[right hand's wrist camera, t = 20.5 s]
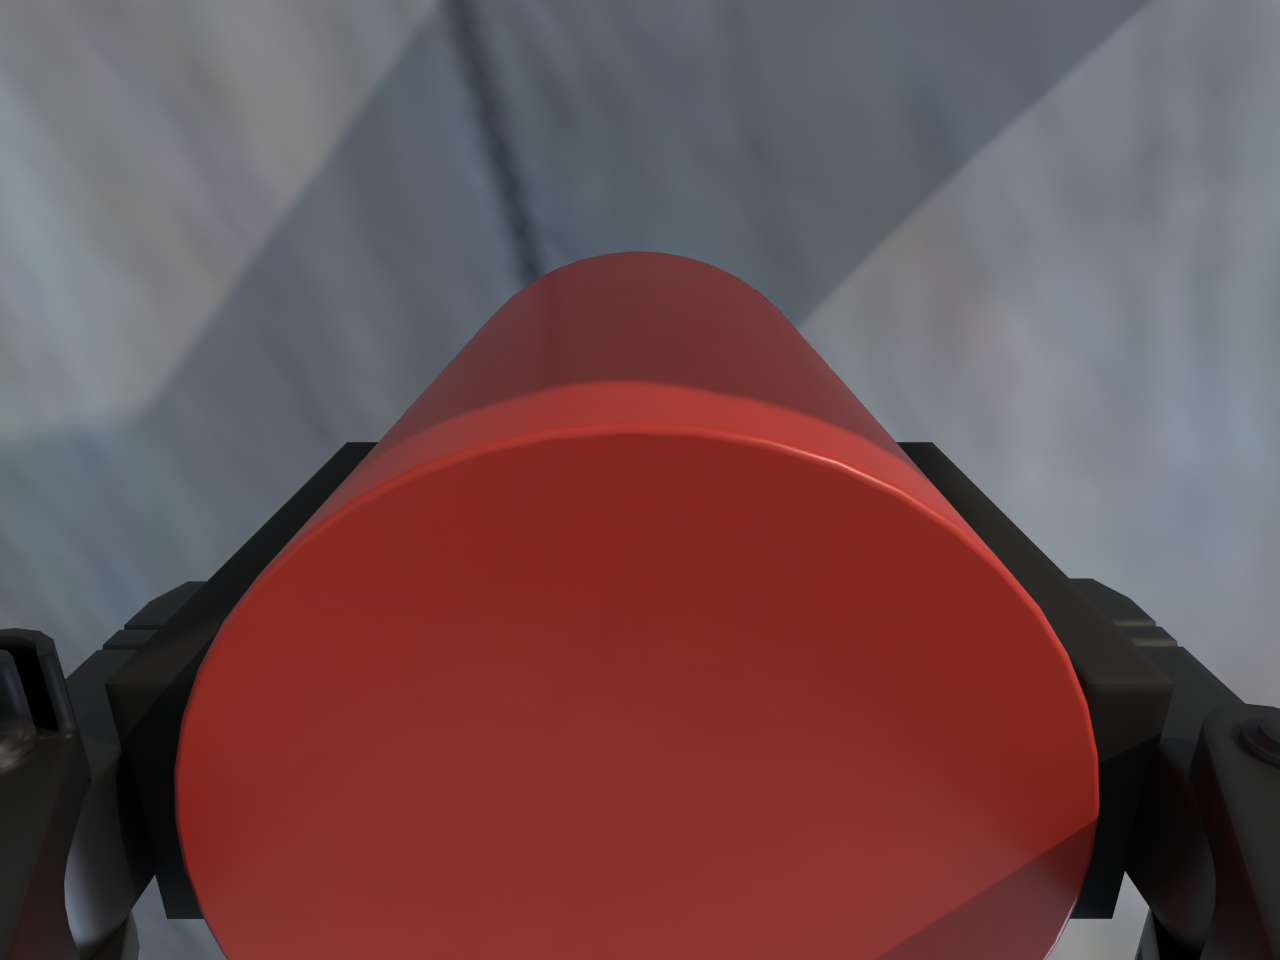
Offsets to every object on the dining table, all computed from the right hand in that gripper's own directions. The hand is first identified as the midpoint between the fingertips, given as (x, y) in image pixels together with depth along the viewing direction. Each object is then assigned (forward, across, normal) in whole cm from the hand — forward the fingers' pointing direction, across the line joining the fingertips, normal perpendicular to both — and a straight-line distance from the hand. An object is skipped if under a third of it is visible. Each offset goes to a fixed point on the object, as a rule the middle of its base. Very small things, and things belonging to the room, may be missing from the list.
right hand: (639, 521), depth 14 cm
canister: (+4, 0, 0) cm, 4 cm away
